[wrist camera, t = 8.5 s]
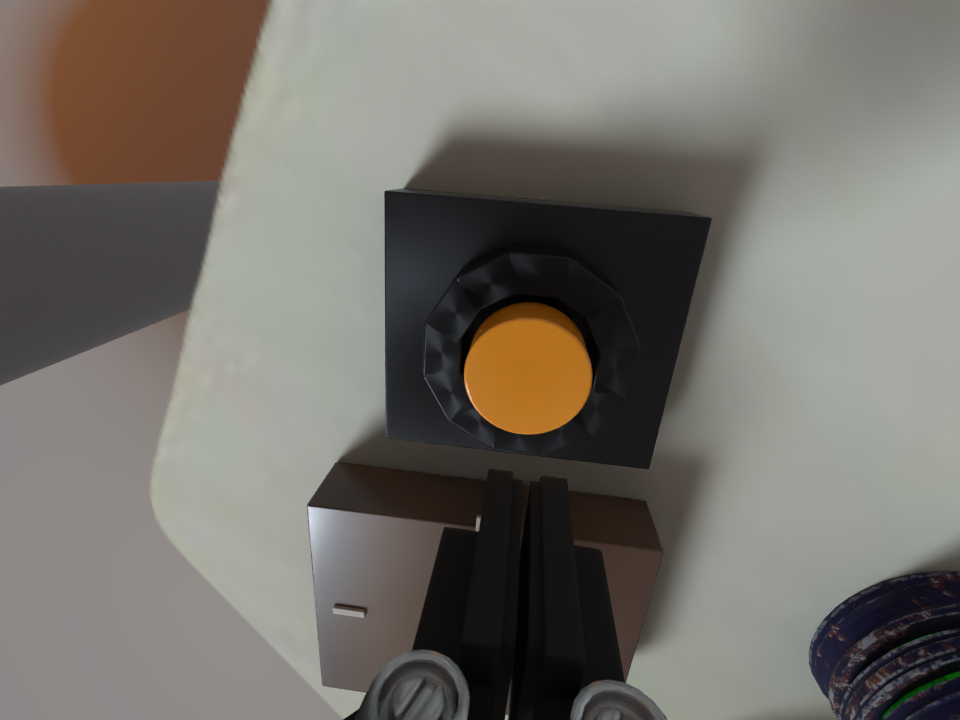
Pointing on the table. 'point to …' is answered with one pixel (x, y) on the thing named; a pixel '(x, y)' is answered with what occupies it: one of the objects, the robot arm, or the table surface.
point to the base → (412, 552)
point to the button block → (542, 279)
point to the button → (528, 369)
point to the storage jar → (893, 651)
